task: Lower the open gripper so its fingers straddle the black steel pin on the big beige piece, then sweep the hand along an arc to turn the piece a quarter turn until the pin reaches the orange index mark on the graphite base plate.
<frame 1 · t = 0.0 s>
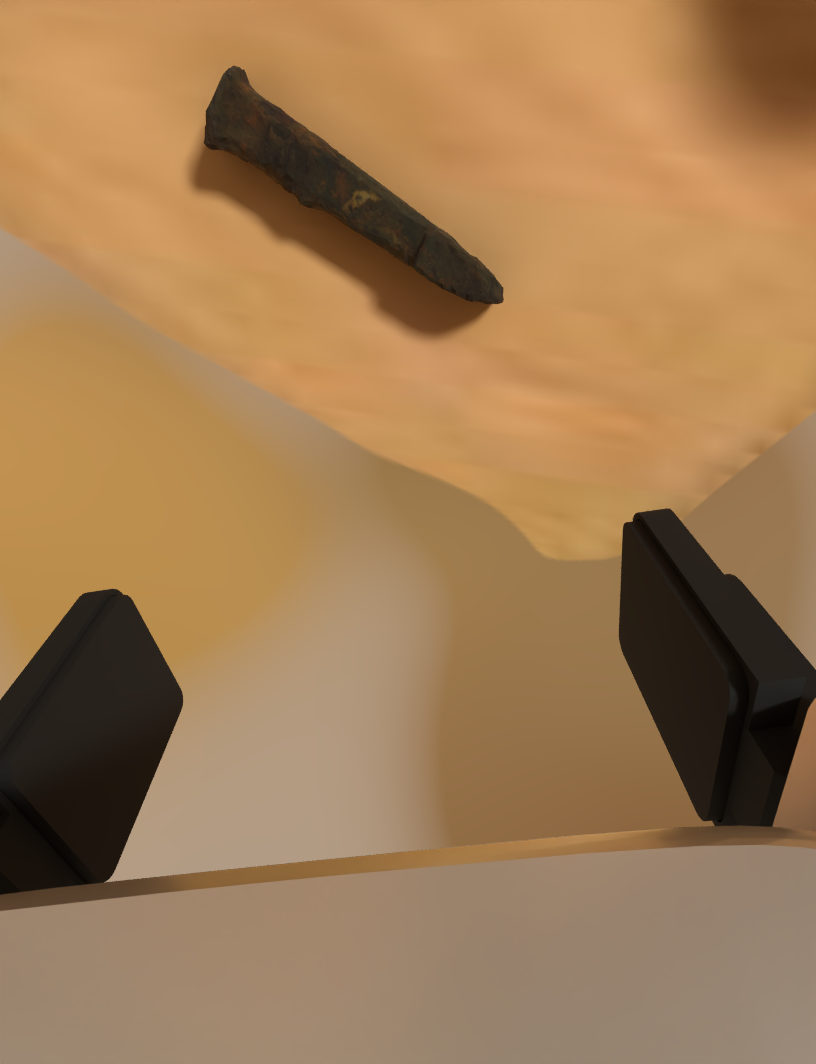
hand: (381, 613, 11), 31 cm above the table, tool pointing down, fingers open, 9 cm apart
hand tool: (376, 198, 35), on the table
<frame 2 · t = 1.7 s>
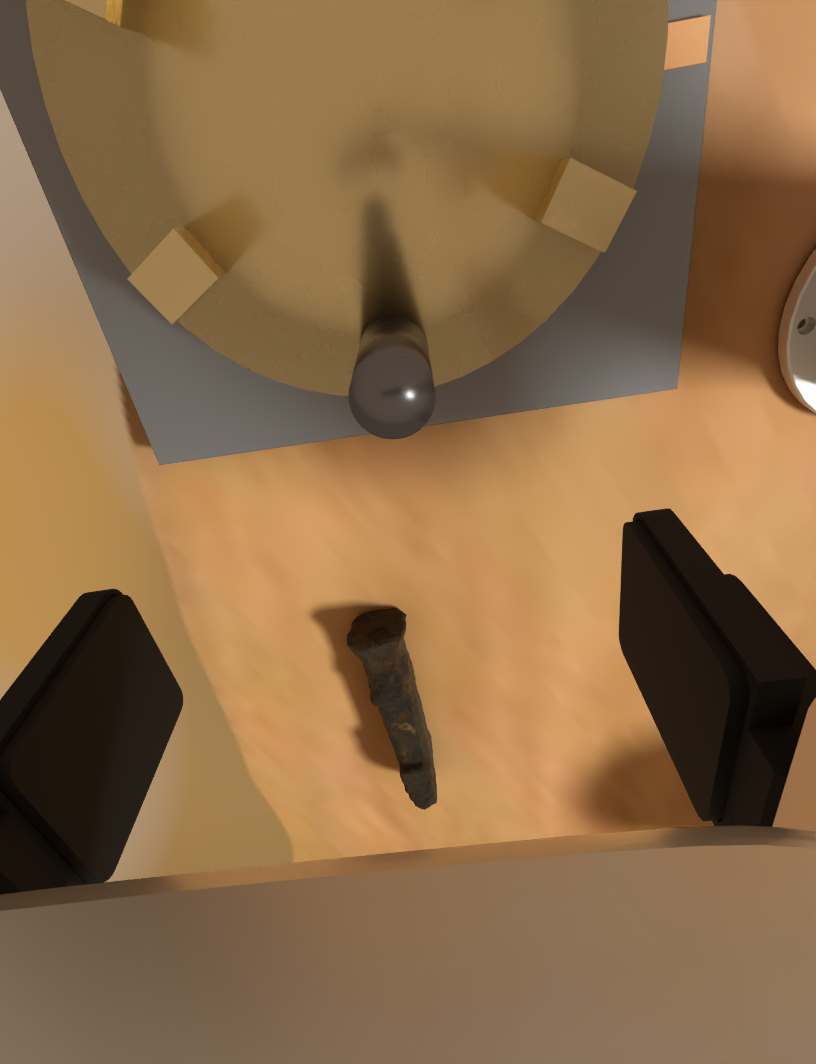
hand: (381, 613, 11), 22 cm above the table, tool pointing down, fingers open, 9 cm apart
beige piece: (349, 90, 19), point 7 cm above the table, hinge at 0.0°
hand tool: (411, 693, 45), on the table
base plate: (361, 111, 25), on the table
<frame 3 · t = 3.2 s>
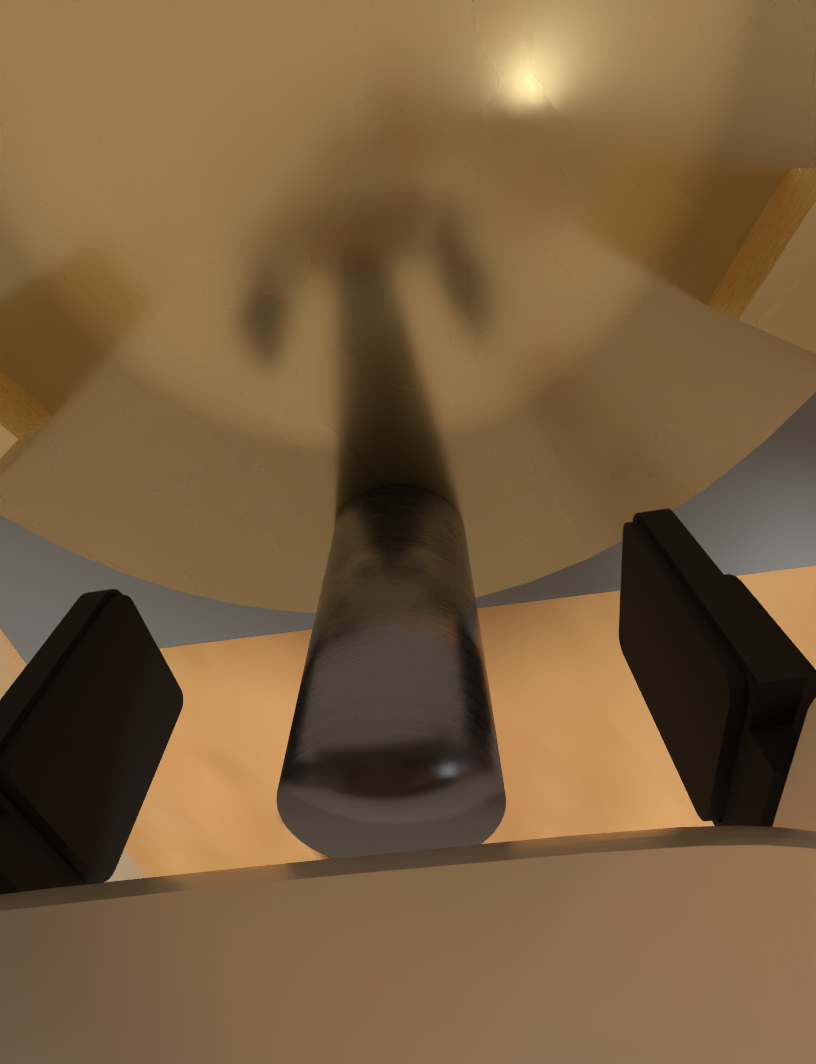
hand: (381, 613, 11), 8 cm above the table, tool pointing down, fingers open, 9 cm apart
base plate: (333, 79, 13), on the table
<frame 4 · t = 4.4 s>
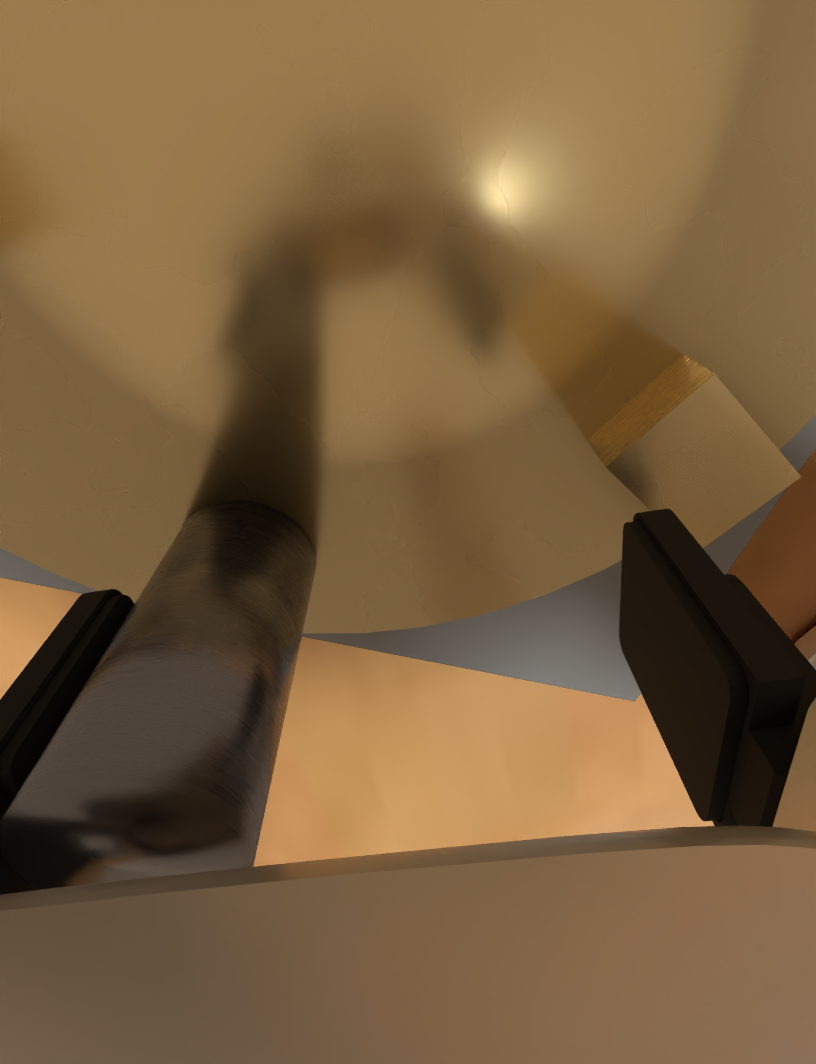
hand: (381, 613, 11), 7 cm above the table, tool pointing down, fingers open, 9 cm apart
base plate: (324, 81, 12), on the table
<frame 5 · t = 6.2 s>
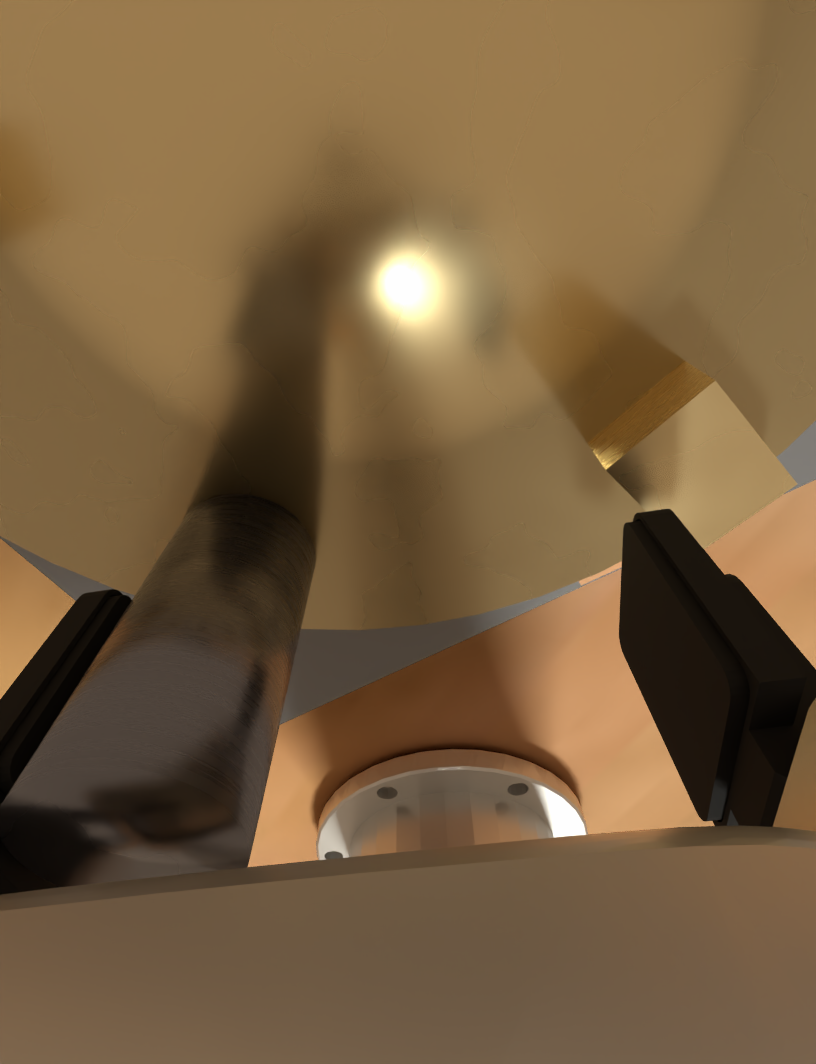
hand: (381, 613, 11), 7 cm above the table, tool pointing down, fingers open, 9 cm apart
base plate: (335, 81, 12), on the table
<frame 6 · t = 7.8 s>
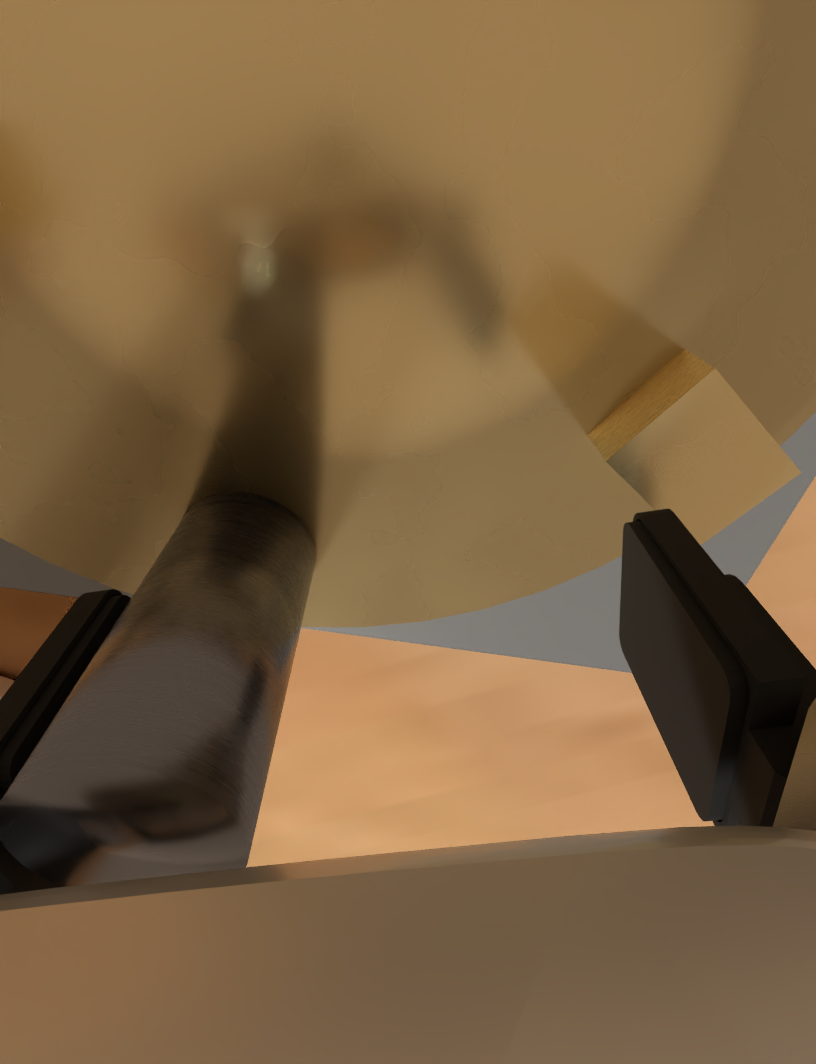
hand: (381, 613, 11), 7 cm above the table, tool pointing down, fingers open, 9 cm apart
base plate: (328, 75, 12), on the table
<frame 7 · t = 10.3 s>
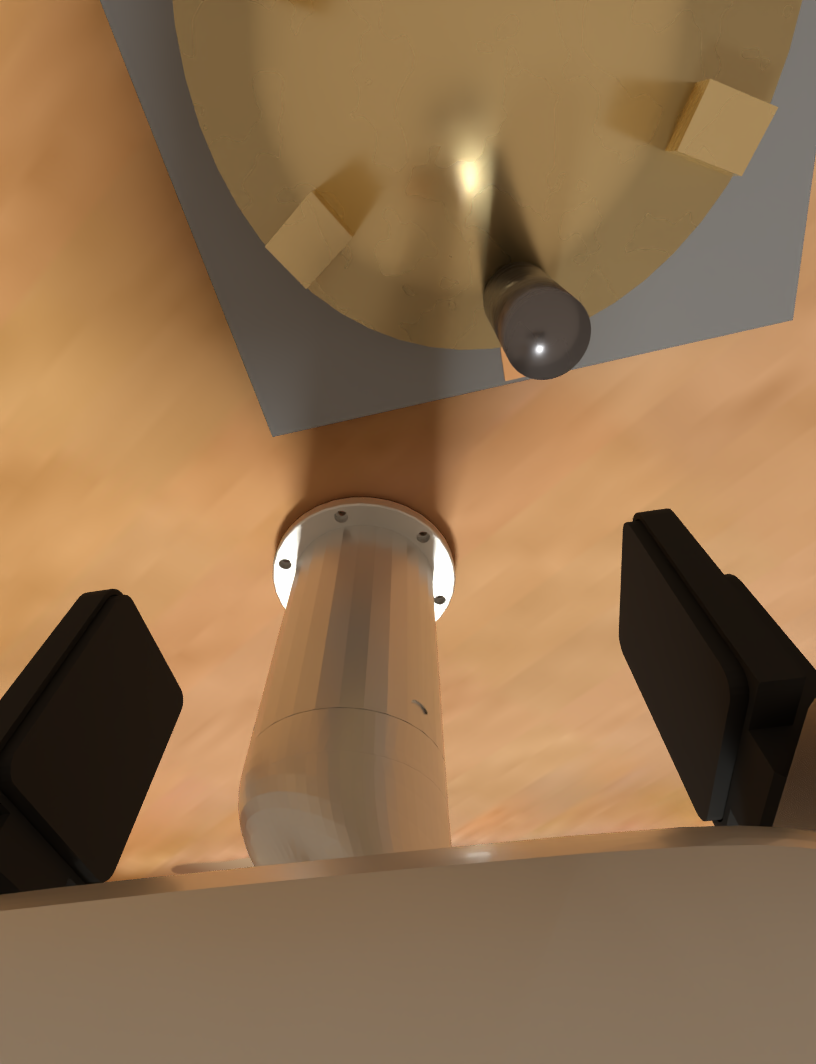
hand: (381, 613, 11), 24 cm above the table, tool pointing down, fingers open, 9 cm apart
beige piece: (491, 30, 19), point 7 cm above the table, hinge at 90.1°
base plate: (471, 59, 25), on the table
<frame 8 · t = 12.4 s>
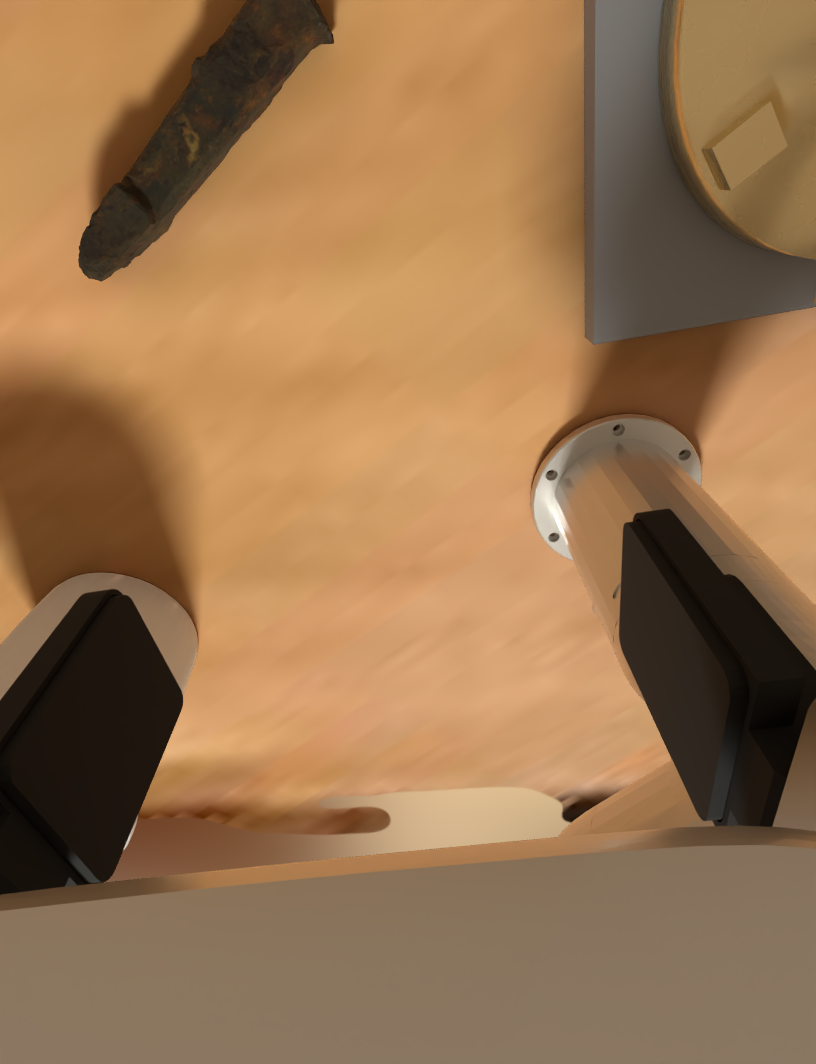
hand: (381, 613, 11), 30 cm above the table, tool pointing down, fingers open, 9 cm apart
utensil holder: (124, 629, 51), on the table
hand tool: (208, 158, 33), on the table
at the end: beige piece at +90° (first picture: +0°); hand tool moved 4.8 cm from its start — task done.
